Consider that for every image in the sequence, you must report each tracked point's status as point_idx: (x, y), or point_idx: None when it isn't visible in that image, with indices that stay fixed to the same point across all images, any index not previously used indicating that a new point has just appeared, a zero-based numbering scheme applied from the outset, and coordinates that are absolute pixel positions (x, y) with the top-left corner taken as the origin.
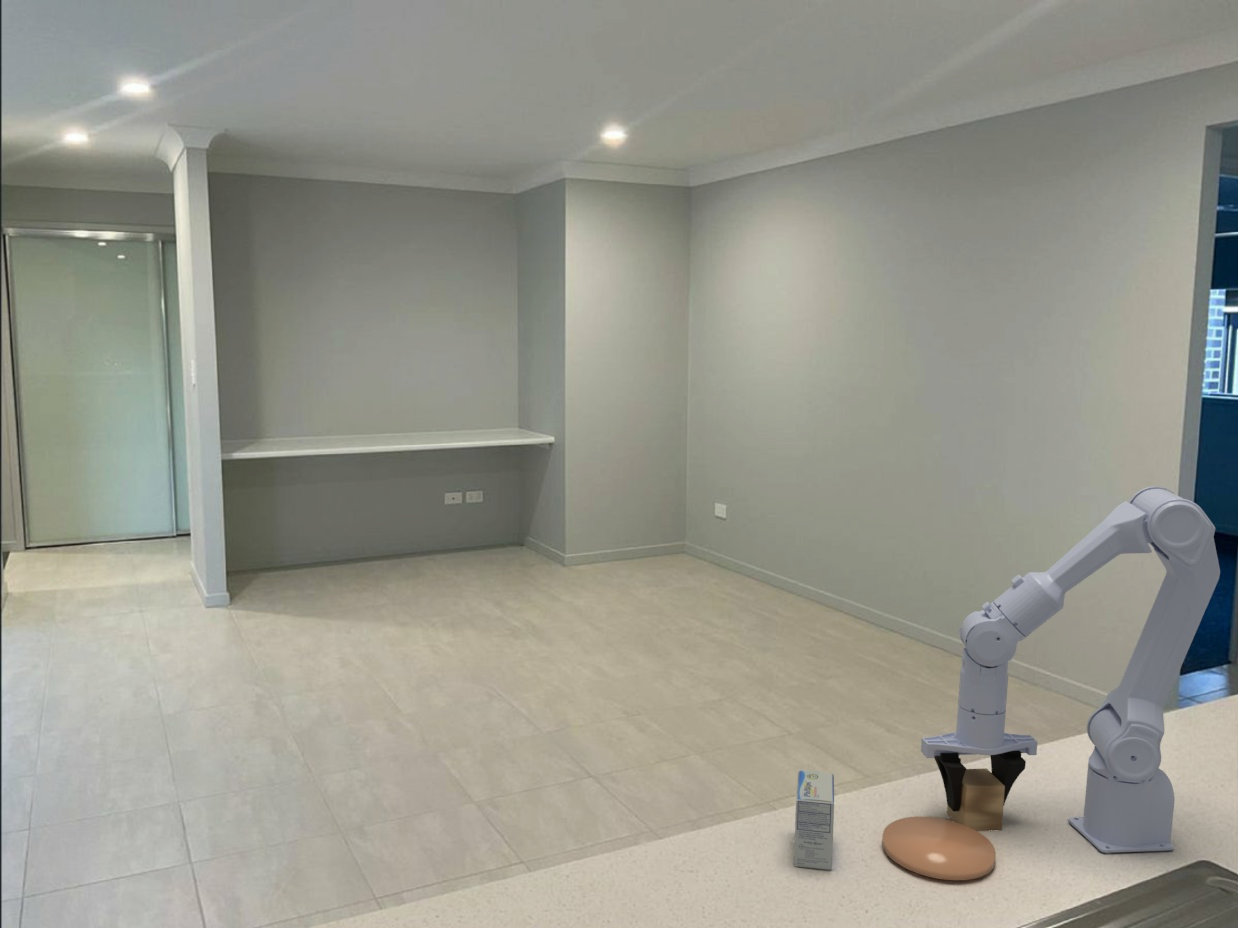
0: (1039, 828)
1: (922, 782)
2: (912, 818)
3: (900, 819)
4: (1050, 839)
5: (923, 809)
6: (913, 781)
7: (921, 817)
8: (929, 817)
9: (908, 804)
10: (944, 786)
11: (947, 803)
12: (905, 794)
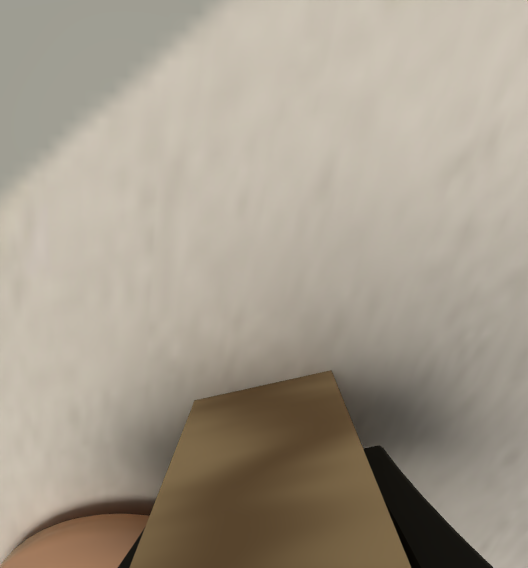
0: (491, 456)
1: (111, 157)
2: (49, 557)
3: (11, 564)
4: (496, 511)
5: (112, 396)
6: (70, 154)
7: (80, 547)
8: (108, 541)
9: (58, 369)
10: (120, 563)
11: None
12: (42, 291)
